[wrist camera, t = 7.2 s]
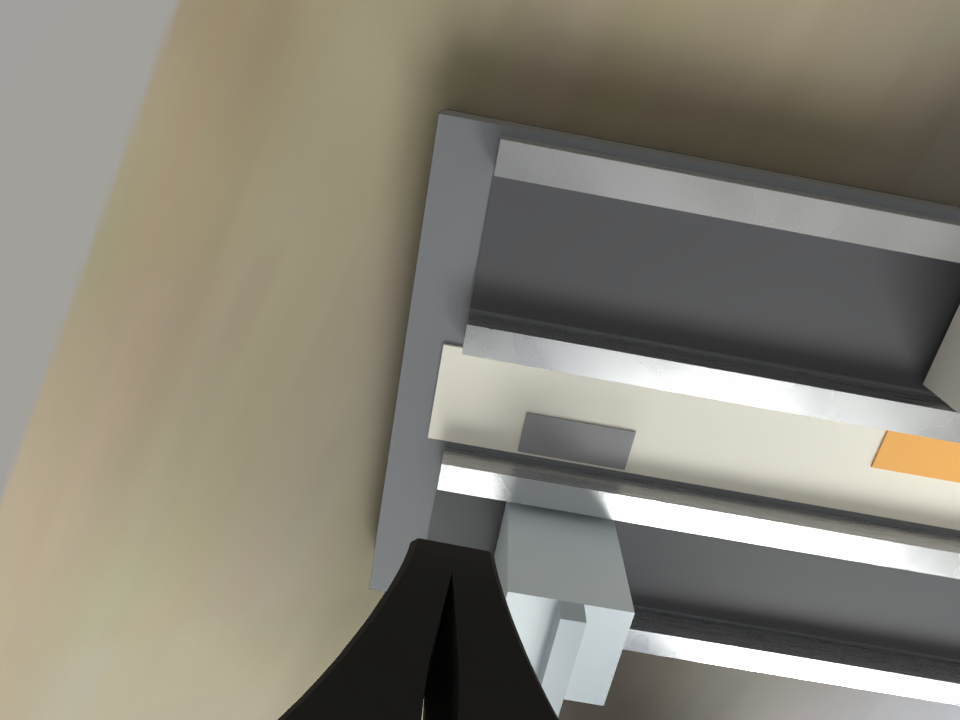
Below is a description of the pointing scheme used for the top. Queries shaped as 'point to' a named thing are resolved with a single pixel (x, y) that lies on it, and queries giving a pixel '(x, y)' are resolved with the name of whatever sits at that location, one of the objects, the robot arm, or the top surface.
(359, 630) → the robot arm
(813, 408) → the switch panel
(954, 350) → the tab
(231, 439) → the top surface
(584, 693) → the tab
